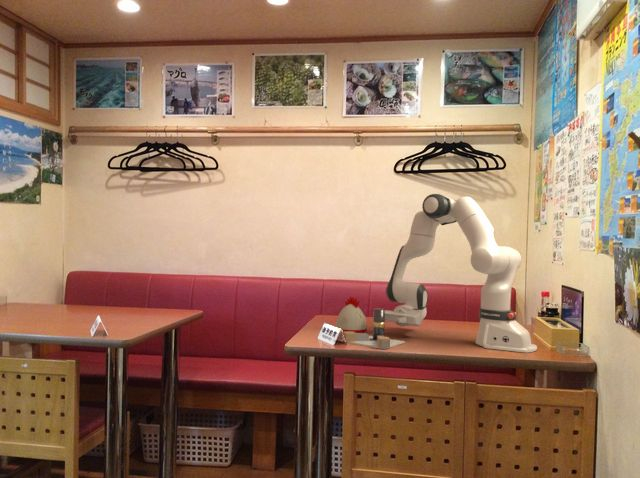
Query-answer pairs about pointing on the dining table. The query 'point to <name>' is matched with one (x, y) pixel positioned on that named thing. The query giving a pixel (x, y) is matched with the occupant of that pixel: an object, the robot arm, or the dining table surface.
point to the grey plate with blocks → (370, 340)
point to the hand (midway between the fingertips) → (387, 319)
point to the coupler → (378, 323)
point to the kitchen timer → (352, 318)
